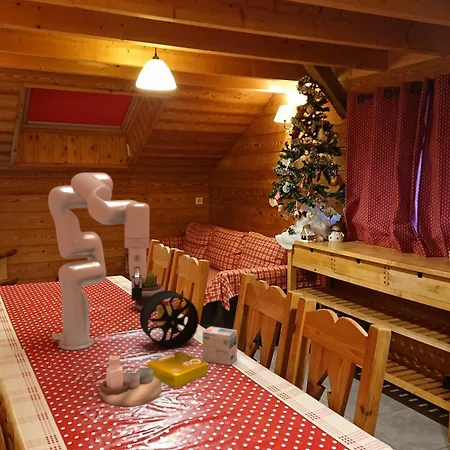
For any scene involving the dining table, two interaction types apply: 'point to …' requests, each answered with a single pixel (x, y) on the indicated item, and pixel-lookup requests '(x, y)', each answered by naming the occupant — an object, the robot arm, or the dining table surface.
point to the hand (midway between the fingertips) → (136, 295)
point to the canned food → (161, 311)
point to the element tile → (178, 369)
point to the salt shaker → (114, 373)
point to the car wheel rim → (170, 320)
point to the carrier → (133, 389)
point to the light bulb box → (220, 345)
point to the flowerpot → (148, 290)
